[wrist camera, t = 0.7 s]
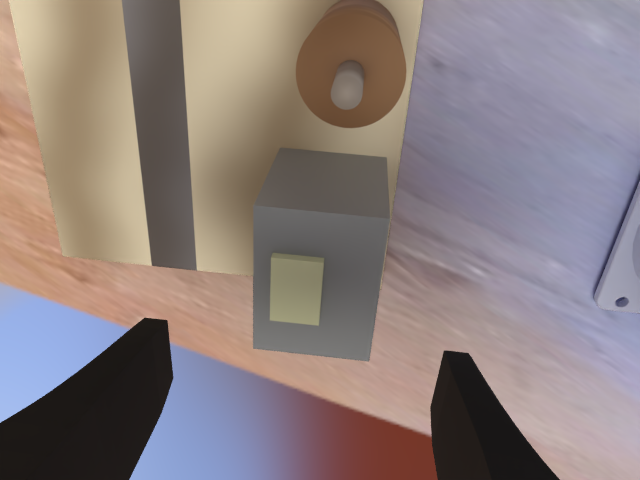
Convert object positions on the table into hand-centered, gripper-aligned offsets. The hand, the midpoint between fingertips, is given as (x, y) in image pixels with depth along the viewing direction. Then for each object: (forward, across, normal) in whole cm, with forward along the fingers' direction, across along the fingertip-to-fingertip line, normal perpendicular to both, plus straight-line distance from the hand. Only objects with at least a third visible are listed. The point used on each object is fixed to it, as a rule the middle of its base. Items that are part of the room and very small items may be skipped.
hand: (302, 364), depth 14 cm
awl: (+8, 0, -7) cm, 11 cm away
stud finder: (+8, 0, 0) cm, 8 cm away
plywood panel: (+9, +4, -2) cm, 11 cm away
